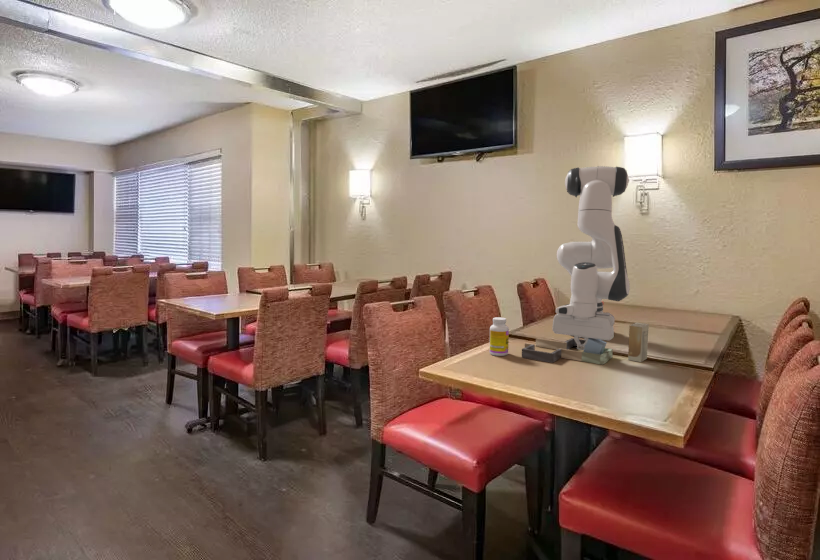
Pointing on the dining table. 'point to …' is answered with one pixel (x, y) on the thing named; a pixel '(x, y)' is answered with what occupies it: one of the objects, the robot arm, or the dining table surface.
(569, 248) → the robot arm
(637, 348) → the skincare box
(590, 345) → the block
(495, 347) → the supplement bottle
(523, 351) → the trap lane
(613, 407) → the dining table surface
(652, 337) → the dining table surface
